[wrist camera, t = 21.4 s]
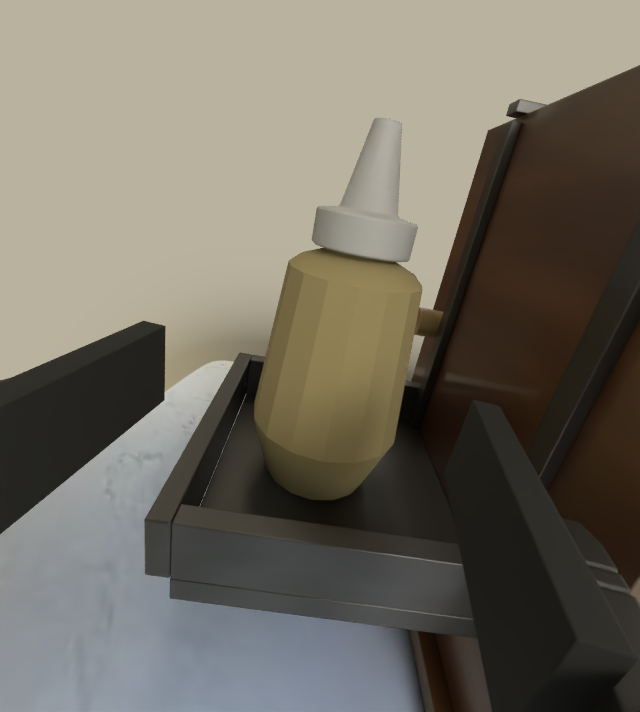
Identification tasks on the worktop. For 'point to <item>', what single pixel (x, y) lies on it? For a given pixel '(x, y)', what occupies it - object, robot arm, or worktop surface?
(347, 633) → the worktop surface
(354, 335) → the squeeze bottle
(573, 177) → the door rack
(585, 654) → the robot arm
